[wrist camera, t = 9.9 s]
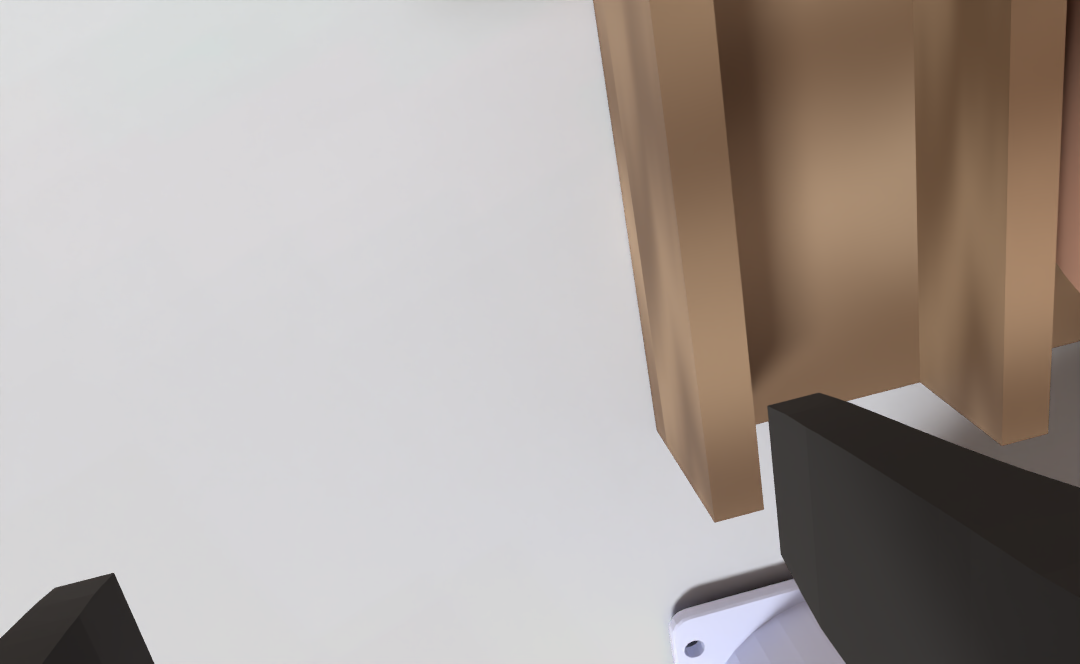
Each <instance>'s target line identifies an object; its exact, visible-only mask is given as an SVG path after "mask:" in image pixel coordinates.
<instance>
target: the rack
mask: <svg viewBox="0 0 1080 664" xmlns="http://www.w3.org/2000/svg"><path fill="white" fill-rule="evenodd" d="M593 3H594V10H595V16H596V23H597V30H598V37H599V43H600V50H601V57H602V64H603V70H604V77H605V84H606V91H607V97H608V104H609V111H610V118H611V124H612V131H613V138H614V145H615V151H616V158H617V165H618V172H619V178H620V185H621V192H622V199H623V205H624V212H625V219H626V226H627V232H628V239H629V246H630V253H631V259H632V266H633V273H634V280H635V286H636V293H637V300H638V307H639V313H640V320H641V327H642V334H643V340H644V347H645V354H646V361H647V367H648V374H649V381H650V388H651V394H652V401H653V408H654V415H655V421H656V428H657V431H658V433H659V435H660V436H661V438H662V439H663V441H664V443H665V444H666V446H667V447H668V449H669V450H670V452H671V454H672V455H673V457H674V458H675V460H676V462H677V463H678V465H679V466H680V468H681V470H682V471H683V473H684V474H685V476H686V478H687V479H688V481H689V482H690V484H691V485H692V487H693V489H694V490H695V492H696V493H697V495H698V497H699V498H700V500H701V501H702V503H703V505H704V506H705V508H706V509H707V511H708V513H709V514H710V516H711V517H712V519H713V521H714V522H719V521H722V520H726V519H730V518H734V517H737V516H741V515H745V514H749V513H752V512H756V511H760V510H764V505H763V495H762V485H761V475H760V465H759V455H758V445H757V435H756V424H760V423H764V422H767V421H769V420H768V409H767V406H768V405H772V404H776V403H780V402H784V401H788V400H791V399H795V398H799V397H803V396H807V395H811V394H815V393H822V394H825V395H829V396H832V397H835V398H838V399H841V400H843V401H849V400H853V399H857V398H861V397H865V396H868V395H872V394H876V393H880V392H884V391H888V390H892V389H896V388H899V387H903V386H907V385H911V384H915V383H919V382H920V383H922V384H923V385H924V386H926V387H927V388H928V389H929V390H931V391H932V392H933V393H935V394H936V395H937V396H938V397H940V398H941V399H942V400H944V401H945V402H946V403H947V404H949V405H950V406H951V407H953V408H954V409H955V410H956V411H958V412H959V413H960V414H962V415H963V416H964V417H965V418H967V419H968V420H969V421H971V422H972V423H973V424H974V425H976V426H977V427H978V428H980V429H981V430H982V431H983V432H985V433H986V434H987V435H989V436H990V437H991V438H992V439H994V440H995V441H996V442H998V443H999V444H1000V445H1001V446H1004V445H1007V444H1011V443H1015V442H1018V441H1022V440H1026V439H1030V438H1033V437H1037V436H1041V435H1045V434H1048V424H1049V401H1050V378H1051V356H1052V348H1055V347H1059V346H1063V345H1066V344H1070V343H1074V342H1078V341H1080V293H1079V291H1078V290H1077V289H1076V288H1075V287H1074V286H1073V284H1072V283H1071V282H1070V281H1069V280H1068V278H1067V277H1066V276H1065V275H1064V273H1063V272H1062V270H1061V269H1060V268H1059V266H1058V265H1057V263H1056V241H1057V218H1058V195H1059V172H1060V150H1061V127H1062V104H1063V81H1064V58H1065V35H1066V12H1067V0H593Z"/></svg>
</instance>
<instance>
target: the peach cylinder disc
mask: <svg viewBox="0 0 1080 664" xmlns="http://www.w3.org/2000/svg"><path fill="white" fill-rule="evenodd" d="M1056 263H1057V265H1058V266H1059V268H1060V269H1061V270H1062V272H1063V273H1064V275H1065V276H1066V277H1067V278H1068V280H1069V281H1070V282H1071V283H1072V284H1073V286H1074V287H1075V288H1076V289H1077V290H1078V291H1079V293H1080V0H1067V12H1066V35H1065V58H1064V81H1063V104H1062V127H1061V150H1060V172H1059V195H1058V218H1057V241H1056Z"/></svg>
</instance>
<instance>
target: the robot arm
mask: <svg viewBox="0 0 1080 664" xmlns="http://www.w3.org/2000/svg"><path fill="white" fill-rule="evenodd" d="M767 409H768V420H769V431H770V441H771V452H772V463H773V474H774V484H775V495H776V506H777V517H778V527H779V538H780V549H781V555H782V557H783V559H784V561H785V563H786V565H787V567H788V569H789V571H790V572H791V574H792V576H793V578H794V579H791V580H787V581H784V582H780V583H777V584H773V585H769V586H766V587H762V588H758V589H755V590H751V591H747V592H744V593H740V594H737V595H733V596H729V597H726V598H722V599H718V600H715V601H711V602H707V603H704V604H700V605H697V606H693V607H689V608H686V609H683V610H681V611H679V612H678V613H676V614H675V615H674V616H673V617H672V619H671V621H670V623H669V635H670V641H671V648H672V654H673V660H674V664H1080V488H1079V487H1076V486H1072V485H1069V484H1066V483H1063V482H1060V481H1057V480H1054V479H1051V478H1048V477H1045V476H1042V475H1039V474H1036V473H1033V472H1030V471H1027V470H1024V469H1021V468H1018V467H1015V466H1012V465H1010V464H1007V463H1004V462H1001V461H998V460H996V459H993V458H990V457H987V456H985V455H982V454H979V453H977V452H974V451H971V450H969V449H966V448H963V447H961V446H958V445H956V444H953V443H950V442H948V441H945V440H943V439H940V438H937V437H935V436H932V435H930V434H927V433H925V432H922V431H920V430H917V429H915V428H912V427H910V426H907V425H905V424H902V423H900V422H897V421H895V420H892V419H890V418H887V417H885V416H882V415H880V414H877V413H875V412H872V411H870V410H867V409H864V408H862V407H859V406H857V405H854V404H851V403H849V402H846V401H843V400H841V399H838V398H835V397H832V396H829V395H825V394H822V393H815V394H811V395H807V396H803V397H799V398H795V399H791V400H788V401H784V402H780V403H776V404H772V405H768V406H767ZM697 640H698V642H697V643H696V644H695V645H693V646H691V647H686V646H687V644H688V643H690V642H692V641H697ZM0 664H154V662H153V660H152V657H151V655H150V653H149V651H148V648H147V646H146V644H145V642H144V639H143V637H142V635H141V633H140V630H139V628H138V626H137V624H136V621H135V619H134V617H133V615H132V613H131V610H130V608H129V606H128V604H127V601H126V599H125V597H124V595H123V592H122V590H121V588H120V586H119V583H118V581H117V579H116V577H115V574H114V573H111V574H107V575H103V576H99V577H96V578H92V579H88V580H84V581H80V582H76V583H72V584H68V585H64V586H60V587H56V588H54V589H53V590H52V591H50V592H49V593H48V594H47V595H46V596H45V597H43V598H42V599H41V600H40V601H39V602H38V603H37V604H35V605H34V606H33V607H32V608H31V609H30V610H29V611H28V612H27V613H26V614H25V615H24V616H23V617H22V618H21V619H20V620H19V621H18V622H17V623H16V624H15V625H14V626H13V627H11V628H10V629H9V630H8V631H7V632H6V633H5V634H4V635H3V636H2V637H1V638H0Z"/></svg>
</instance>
